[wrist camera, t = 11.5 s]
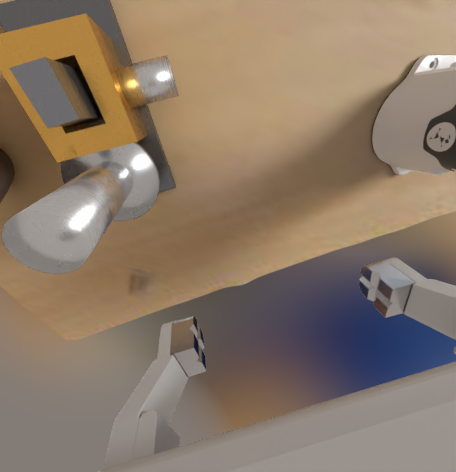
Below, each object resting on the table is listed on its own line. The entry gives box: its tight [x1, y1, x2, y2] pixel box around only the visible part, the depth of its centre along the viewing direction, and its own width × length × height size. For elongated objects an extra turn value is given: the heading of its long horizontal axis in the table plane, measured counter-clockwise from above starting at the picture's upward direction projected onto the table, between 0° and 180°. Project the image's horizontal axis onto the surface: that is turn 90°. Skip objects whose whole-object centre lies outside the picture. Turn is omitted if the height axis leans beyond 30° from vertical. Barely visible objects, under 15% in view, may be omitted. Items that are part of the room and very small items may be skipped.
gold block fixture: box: [0, 0, 179, 274], centre depth 21 cm, size 17×24×24 cm
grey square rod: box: [9, 57, 104, 128], centre depth 24 cm, size 3×4×12 cm, turn 15°
